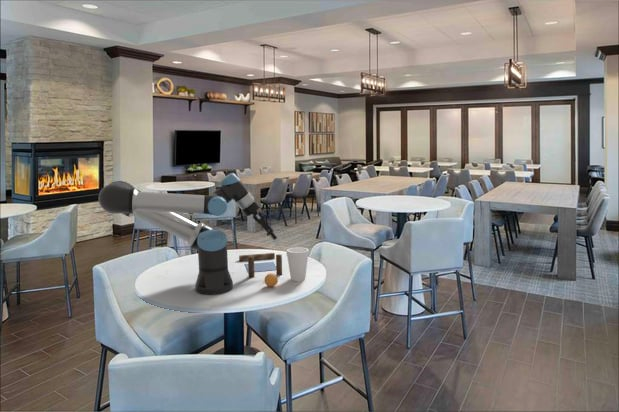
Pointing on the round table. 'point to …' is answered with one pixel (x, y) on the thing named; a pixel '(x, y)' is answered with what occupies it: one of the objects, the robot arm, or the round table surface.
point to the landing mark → (263, 266)
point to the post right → (278, 264)
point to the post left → (251, 266)
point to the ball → (271, 280)
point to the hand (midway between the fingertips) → (277, 240)
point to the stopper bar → (257, 256)
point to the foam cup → (297, 263)
